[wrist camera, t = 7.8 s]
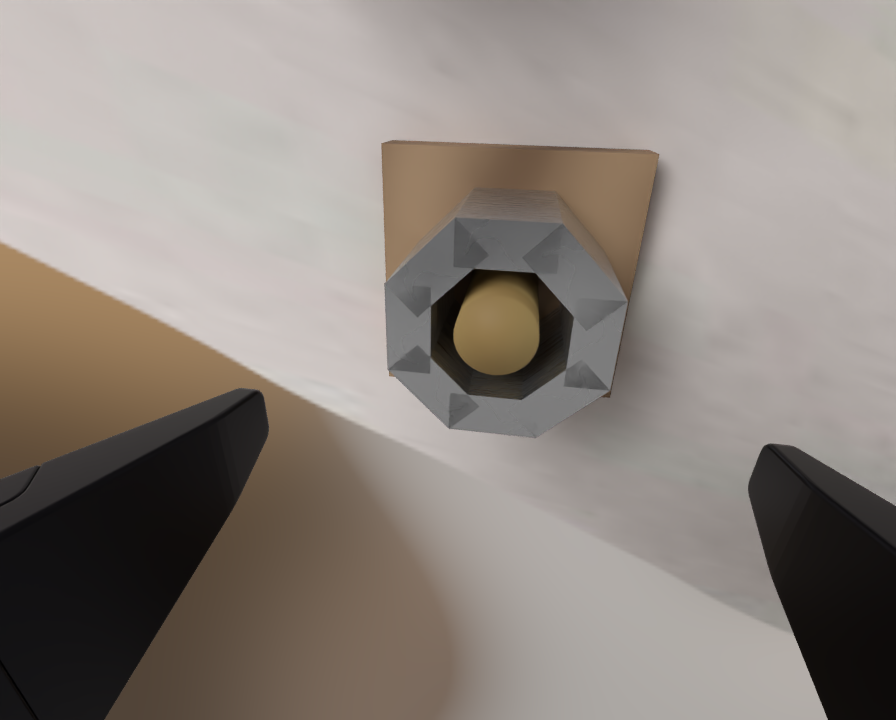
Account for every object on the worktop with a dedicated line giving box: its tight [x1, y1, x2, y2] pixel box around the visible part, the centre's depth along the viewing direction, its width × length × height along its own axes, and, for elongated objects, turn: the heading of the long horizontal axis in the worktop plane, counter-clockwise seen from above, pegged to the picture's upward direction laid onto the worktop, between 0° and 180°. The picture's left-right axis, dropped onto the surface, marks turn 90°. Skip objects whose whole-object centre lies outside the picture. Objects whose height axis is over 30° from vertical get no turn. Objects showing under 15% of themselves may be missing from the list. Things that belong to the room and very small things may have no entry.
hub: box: [385, 187, 628, 438], centre depth 16 cm, size 6×6×5 cm
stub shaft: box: [381, 140, 659, 398], centre depth 17 cm, size 9×9×6 cm
